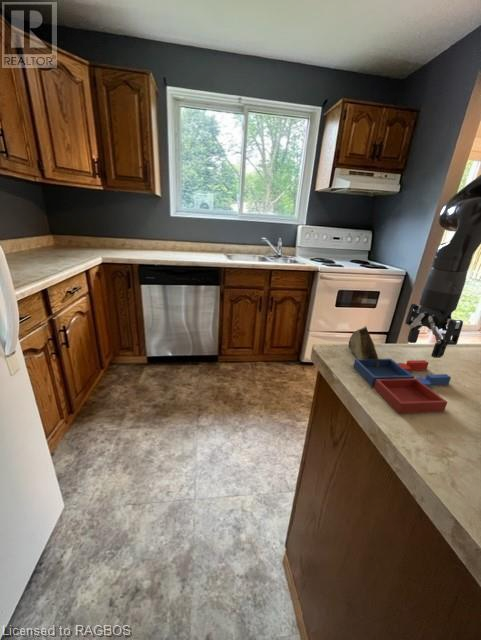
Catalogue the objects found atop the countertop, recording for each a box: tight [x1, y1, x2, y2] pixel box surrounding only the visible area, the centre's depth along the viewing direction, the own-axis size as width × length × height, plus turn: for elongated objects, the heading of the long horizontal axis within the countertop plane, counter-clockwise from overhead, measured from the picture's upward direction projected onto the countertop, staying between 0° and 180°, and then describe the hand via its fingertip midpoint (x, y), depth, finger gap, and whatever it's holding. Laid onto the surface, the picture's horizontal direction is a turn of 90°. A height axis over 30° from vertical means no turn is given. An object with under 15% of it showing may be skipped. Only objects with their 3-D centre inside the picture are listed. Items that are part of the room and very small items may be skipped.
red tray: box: [373, 377, 448, 414], centre depth 59 cm, size 10×9×2 cm
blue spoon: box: [415, 373, 452, 388], centre depth 65 cm, size 8×3×2 cm, turn 96°
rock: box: [347, 325, 380, 367], centre depth 76 cm, size 11×9×10 cm
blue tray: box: [353, 358, 415, 387], centre depth 68 cm, size 10×9×2 cm
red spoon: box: [396, 359, 430, 373], centre depth 72 cm, size 8×3×2 cm, turn 96°
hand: (423, 349), depth 70 cm, fingers open, 8 cm apart
